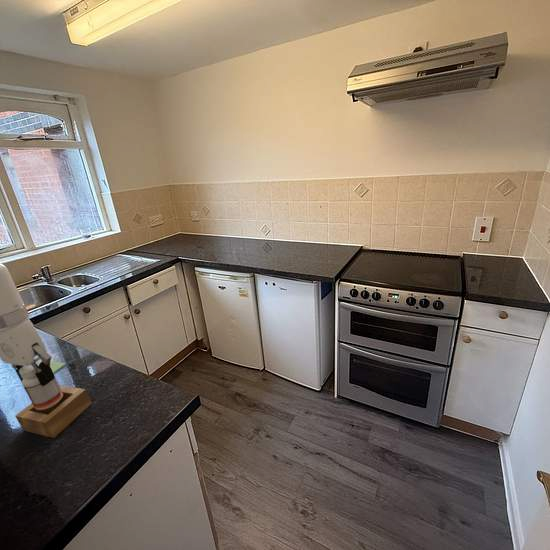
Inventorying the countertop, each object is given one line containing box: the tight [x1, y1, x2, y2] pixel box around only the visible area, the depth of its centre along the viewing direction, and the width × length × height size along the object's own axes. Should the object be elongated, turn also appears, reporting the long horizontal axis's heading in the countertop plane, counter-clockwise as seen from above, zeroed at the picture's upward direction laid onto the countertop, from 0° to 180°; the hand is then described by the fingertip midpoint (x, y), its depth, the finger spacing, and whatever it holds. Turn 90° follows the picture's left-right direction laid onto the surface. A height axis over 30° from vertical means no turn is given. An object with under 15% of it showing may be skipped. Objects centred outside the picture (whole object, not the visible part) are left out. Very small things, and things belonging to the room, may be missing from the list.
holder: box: [14, 384, 93, 439], centre depth 78 cm, size 11×11×5 cm
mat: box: [50, 360, 68, 375], centre depth 99 cm, size 9×9×1 cm
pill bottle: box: [19, 359, 63, 410], centre depth 75 cm, size 6×6×11 cm
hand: (38, 379), depth 74 cm, fingers closed on pill bottle, 6 cm apart
